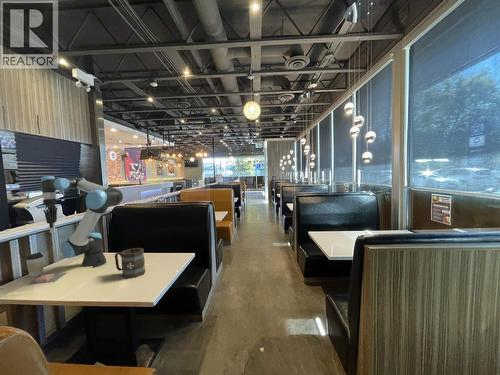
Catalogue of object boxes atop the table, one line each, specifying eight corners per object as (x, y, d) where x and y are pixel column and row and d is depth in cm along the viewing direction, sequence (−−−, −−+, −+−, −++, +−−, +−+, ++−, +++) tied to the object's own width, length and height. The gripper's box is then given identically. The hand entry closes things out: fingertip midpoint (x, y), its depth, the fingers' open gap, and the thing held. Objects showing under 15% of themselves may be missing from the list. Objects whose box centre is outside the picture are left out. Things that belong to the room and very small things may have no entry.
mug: (150, 270, 169) (148, 248, 169) (136, 279, 156) (134, 254, 155) (124, 269, 174) (122, 247, 173) (108, 277, 161) (106, 253, 160)
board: (68, 274, 171) (67, 272, 171) (54, 283, 156) (54, 281, 156) (40, 277, 169) (40, 275, 168) (24, 287, 153) (23, 285, 153)
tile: (53, 273, 164) (46, 278, 156) (54, 276, 164) (46, 281, 157) (43, 274, 163) (35, 279, 155) (43, 277, 163) (35, 283, 156)
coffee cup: (35, 279, 165) (33, 256, 164) (23, 279, 167) (21, 256, 166) (48, 274, 174) (46, 251, 173) (37, 273, 176) (35, 251, 175)
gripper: (49, 198, 186) (52, 230, 187) (37, 199, 173) (41, 234, 174) (60, 197, 187) (63, 229, 189) (50, 198, 175) (53, 233, 176)
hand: (52, 232), depth 181 cm, fingers closed
